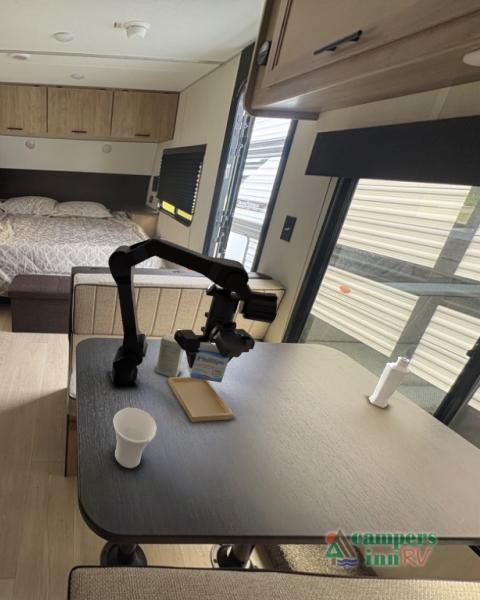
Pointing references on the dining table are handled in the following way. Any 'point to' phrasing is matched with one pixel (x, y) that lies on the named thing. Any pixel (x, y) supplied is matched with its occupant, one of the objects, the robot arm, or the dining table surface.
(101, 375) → the dining table surface
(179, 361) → the cosmetic box
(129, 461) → the cup
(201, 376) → the medicine box
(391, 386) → the perfume bottle
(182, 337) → the robot arm
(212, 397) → the holder
